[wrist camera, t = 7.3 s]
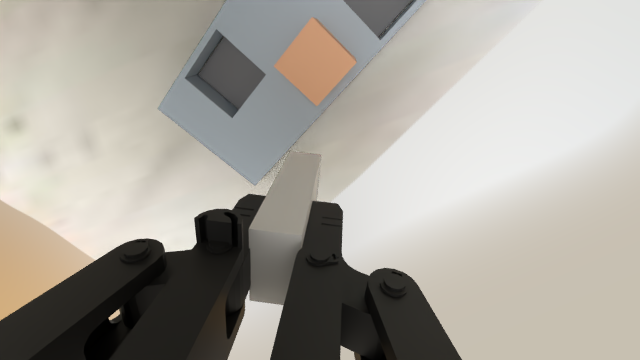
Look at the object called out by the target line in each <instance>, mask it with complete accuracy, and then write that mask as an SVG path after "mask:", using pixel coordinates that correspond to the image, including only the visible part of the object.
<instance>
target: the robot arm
mask: <svg viewBox="0 0 640 360" xmlns="http://www.w3.org/2000/svg"><path fill="white" fill-rule="evenodd" d="M320 164H321V155H320V154H311V153H303V152H294V151H290V152H289V154H288V156H287V158H286V160H285V162H284V164H283V165H282V167H281V169H280V171H279V173H278V175H277V177H276V178H275V180H274V182H273V184H272V186H271V188H270V190H269V192H268V193H267V195H266V196H261V195H253V194H248V195H246V196H245V197H243V198H241V199H240V200H239V201H238V202H237V204H236V205H235V207H234V208H233V210H229V209H214V210H209V211H206V212H203V213H201V214H199V215H198V216H197V217H195V218H194V220H195V230H196V239H197V243H196V245H195V246H194V247H193V249H191V250H185V251H175V252H165V250H164V247H163V244H162V243H161V242H159V241H157V240H154V239H137V240H133V241H129V242H126V243H124V244H122V245H120V246H118V247H116V248H115V249H113V250H112V251H110V252H108V253H107V254H105V255H104V256H102V257H100V258H99V259H97V260H96V261H94V262H93V263H91V264H89V265H88V266H86V267H85V268H83V269H81V270H80V271H79V272H77V273H75V274H74V275H72V276H70V277H69V278H67V279H66V280H64V281H63V282H61V283H59V284H58V285H56V286H55V287H53V288H51V289H50V290H48V291H47V292H45V293H43V294H42V295H40V296H39V297H37V298H35V299H34V300H32V301H31V302H29V303H28V304H26V305H24V306H23V307H21V308H20V309H18V310H17V311H15V312H13V313H12V314H10V315H9V316H7V317H5V318H4V319H2V320H1V321H0V360H227V359H228V356H229V353H230V351H231V348H232V346H233V343H234V340H235V338H236V335H237V332H238V330H239V327H240V325H241V322H242V319H243V317H244V312H245V299H246V296H247V294H248V291H249V290H250V300H251V301H258V302H265V303H273V304H281V305H284V306H283V310H282V314H281V318H280V322H279V326H278V330H277V334H276V338H275V342H274V346H273V350H272V354H271V358H270V360H340V345H341V346H343V347H345V348H347V349H349V350H351V351H353V352H354V355H355V360H462V359H461V357H460V356H459V354H458V353H457V351H456V349H455V347H454V346H453V344H452V342H451V341H450V339H449V337H448V335H447V334H446V332H445V330H444V329H443V327H442V325H441V324H440V322H439V320H438V319H437V317H436V315H435V313H434V312H433V310H432V308H431V307H430V305H429V303H428V302H427V300H426V298H425V297H424V295H423V293H422V291H421V290H420V288H419V286H418V285H417V284H416V282H415V281H414V280H413V279H412V278H411V277H410V276H408V275H407V274H405V273H403V272H401V271H398V270H395V269H389V268H383V269H378V270H375V271H374V272H373V273H371V274H370V276H368V275H366V274H363V273H361V272H358V271H356V270H354V269H353V268H351V267H350V266H348V265H347V263H346V262H345V261H344V259H343V257H342V251H341V250H342V223H343V221H342V220H343V211H342V209H341V208H340V206H339V205H338V204H335V203H327V202H319V201H317V195H318V185H319V174H320ZM118 309H119V311H120V315H118V316H117V317H116V318H114V319H112V320H109V319H108V317H110V316H111V315H112V314H113V313H114V312H116V310H118Z"/></svg>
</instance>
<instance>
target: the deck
mask: <svg viewBox="0 0 640 360" xmlns="http://www.w3.org/2000/svg"><path fill="white" fill-rule="evenodd" d="M411 1H412V0H226V1H225V3H224V5H223V6H222V8H221V9H220V11H219V12H218V14H217V16H216V17H215V19H214V20H213V22H212V23H211V25H210V27H209V28H208V30H207V31H206V33H205V35H204V36H203V38H202V39H201V41H200V42H199V44H198V46H197V47H196V49H195V50H194V52H193V53H192V55H191V57H190V58H189V60H188V61H187V63H186V64H185V66H184V68H183V69H182V71H181V72H180V74H179V75H178V77H177V79H176V80H175V82H174V83H173V85H172V87H171V88H170V90H169V91H168V93H167V94H166V96H165V98H164V99H163V101H162V102H161V104H160V105H159V107H158V109H159V110H160V111H161V112H162V113H164V114H165V115H166V116H167V117H169V118H170V119H171V120H172V121H174V122H175V123H176V124H178V125H179V126H180V127H181V128H183V129H184V130H185V131H186V132H188V133H189V134H190V135H191V136H193V137H194V138H195V139H197V140H198V141H199V142H200V143H202V144H203V145H204V146H205V147H207V148H208V149H209V150H210V151H212V152H213V153H214V154H215V155H217V156H218V157H219V158H221V159H222V160H223V161H224V162H226V163H227V164H228V165H229V166H231V167H232V168H233V169H234V170H236V171H237V172H238V173H240V174H241V175H242V176H243V177H245V178H246V179H247V180H248V181H250V182H251V183H252V184H253V185H256V184H257V183H258V182H259V181H260V180H261V179H262V177H263V176H264V175H265V174H266V173H267V172H268V171H269V170H270V169H271V168H272V167H273V166H274V164H275V163H276V162H277V161H278V160H279V159H280V158H281V157H282V156H283V155H284V154H285V153H286V151H287V150H288V149H289V148H290V147H291V146H292V145H293V144H294V143H295V142H296V141H297V140H298V139H299V137H300V136H301V135H302V134H303V133H304V132H305V131H306V130H307V129H308V128H309V127H310V126H311V124H312V123H313V122H314V121H315V120H316V119H317V118H318V117H319V116H320V115H321V114H322V113H323V111H324V110H325V109H326V108H327V107H328V106H329V105H330V104H331V103H332V102H333V101H334V100H335V99H336V97H337V96H338V95H339V94H340V93H341V92H342V91H343V90H344V89H345V88H346V87H347V86H348V84H349V83H350V82H351V81H352V80H353V79H354V78H355V77H356V76H357V75H358V74H359V73H360V71H361V70H362V69H363V68H364V67H365V66H366V65H367V64H368V63H369V62H370V61H371V60H372V59H373V57H374V56H375V55H376V54H377V53H378V52H379V51H380V50H381V49H382V48H383V47H384V46H385V44H386V43H387V42H388V41H389V40H390V39H391V38H392V37H393V36H394V35H395V34H396V33H397V31H398V30H399V29H400V28H401V27H402V26H403V25H404V24H405V23H406V22H407V21H408V20H409V18H410V17H411V16H412V15H413V14H414V13H415V12H416V11H417V10H418V9H419V8H420V7H421V6H422V4H423V3H424V2H425V1H426V0H413V1H412V2H411ZM410 2H411V3H410ZM409 3H410V4H409ZM408 4H409V5H408ZM407 5H408V7H407V8H406V9H405V10H404V11H403V12H402V10H403V9H404V8H405V7H406V6H407ZM401 12H402V13H401ZM400 13H401V14H400ZM399 14H400V15H399ZM398 15H399V16H398ZM397 16H398V18H397V19H396V20H395V21H394V22H393V20H394V19H395V18H396V17H397ZM312 17H314V18H316V19H318V20H319V21H320V22H321V23H322V24H323V25H324V26H325V27H326V28H327V29H328V30H329V31H330V32H331V33H332V35H333V36H334V37H335V38H336V39H337V40H338V41H339V42H340V43H341V44H342V45H343V46H344V47H345V48H346V49H347V50H348V51H349V52H350V53H351V54H352V55H353V56H354V57H355V58H356V61H357V63H356V64H355V65H354V66H353V67H352V68H351V69H350V70H349V72H348V73H347V74H346V75H345V76H344V77H343V78H342V79H341V80H340V82H339V83H338V84H337V85H336V86H335V87H334V88H333V89H332V90H331V91H330V93H329V94H328V95H327V96H326V97H325V98H324V99H323V100H322V101H321V102H320V104H319V105H318V106H316V105H315V104H314V103H313V102H312V101H310V100H309V99H308V98H307V97H306V96H305V95H304V94H303V93H302V92H301V91H300V90H299V89H298V88H297V87H295V86H294V85H293V84H292V83H291V82H290V81H289V80H288V79H287V78H286V77H285V76H284V75H283V74H281V73H280V72H279V71H278V70H277V69H276V68H275V67H274V65H275V64H276V63H277V61H278V60H279V59H280V57H281V56H282V55H283V54H284V52H285V51H286V50H287V48H288V47H289V46H290V45H291V43H292V42H293V41H294V39H295V38H296V37H297V36H298V34H299V33H300V32H301V30H302V29H303V28H304V27H305V25H306V24H307V23H308V21H309V20H310V19H311V18H312ZM392 22H393V23H392ZM391 23H392V24H391ZM390 24H391V25H390ZM389 25H390V26H389ZM388 26H389V28H388V29H387V30H386V31H385V32H384V30H385V29H386V28H387V27H388ZM383 32H384V33H383ZM382 33H383V34H382ZM381 34H382V35H381ZM380 35H381V36H380ZM223 36H224V37H223ZM379 36H380V37H379ZM222 37H223V38H222ZM378 37H379V38H378ZM221 39H222V40H221ZM220 40H221V41H220ZM219 42H220V43H219ZM218 43H219V44H218ZM217 45H218V46H217ZM216 46H217V47H216ZM215 48H216V49H215ZM214 49H215V50H214ZM213 51H214V52H213ZM212 52H213V53H212ZM211 54H212V55H211ZM210 55H211V56H210ZM209 57H210V58H209ZM208 58H209V59H208ZM207 60H208V61H207ZM206 61H207V62H206ZM205 63H206V64H205ZM204 64H205V65H204ZM203 66H204V67H203ZM202 67H203V68H202ZM201 69H202V70H201ZM200 70H201V71H200ZM199 72H200V73H199ZM198 73H199V74H198ZM201 77H202V78H203V79H202V78H201ZM208 83H209V84H210V85H209V84H208ZM215 89H216V90H215ZM222 95H223V96H222ZM229 101H230V102H229ZM235 106H236V107H237V108H236V107H235Z"/></svg>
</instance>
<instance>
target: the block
mask: <svg viewBox="0 0 640 360" xmlns="http://www.w3.org/2000/svg"><path fill="white" fill-rule="evenodd" d="M356 63H357V61H356V58H355V57H354V56H353V55H352V54H351V53H350V52H349V51H348V50H347V49H346V48H345V47H344V46H343V45H342V44H341V43H340V42H339V41H338V40H337V39H336V38H335V37H334V36H333V35H332V33H331V32H330V31H329V30H328V29H327V28H326V27H325V26H324V25H323V24H322V23H321V22H320V21H319V20H318V19H316V18H314V17H312V18H311V19H310V20H309V21H308V23H307V24H306V25H305V27H304V28H303V29H302V30H301V32H300V33H299V34H298V36H297V37H296V38H295V39H294V41H293V42H292V43H291V45H290V46H289V47H288V48H287V50H286V51H285V52H284V54H283V55H282V56H281V57H280V59H279V60H278V61H277V63H276V64H275V65H274V67H275V68H276V69H277V70H278V71H279V72H280V73H281V74H283V75H284V76H285V77H286V78H287V79H288V80H289V81H290V82H291V83H292V84H293V85H294V86H295V87H297V88H298V89H299V90H300V91H301V92H302V93H303V94H304V95H305V96H306V97H307V98H308V99H309V100H310V101H312V102H313V103H314V104H315V105H316V106H318V105H319V104H320V102H321V101H322V100H323V99H324V98H325V97H326V96H327V95H328V94H329V93H330V91H331V90H332V89H333V88H334V87H335V86H336V85H337V84H338V83H339V82H340V80H341V79H342V78H343V77H344V76H345V75H346V74H347V73H348V72H349V70H350V69H351V68H352V67H353V66H354V65H355V64H356Z"/></svg>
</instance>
